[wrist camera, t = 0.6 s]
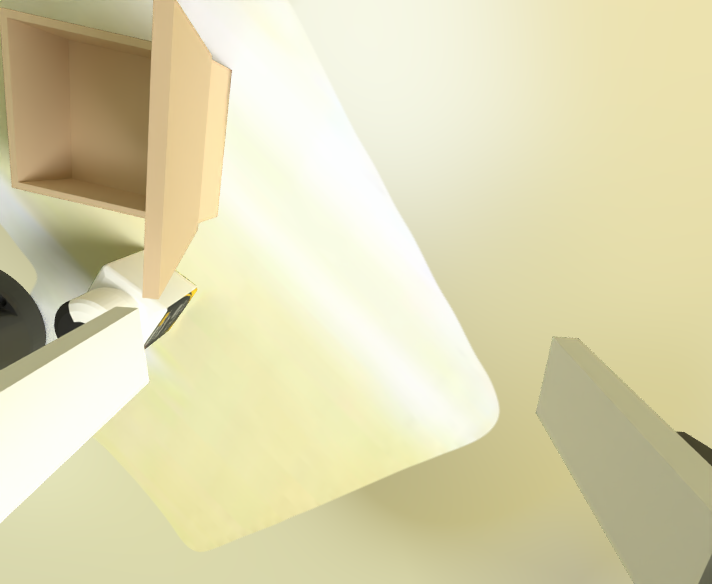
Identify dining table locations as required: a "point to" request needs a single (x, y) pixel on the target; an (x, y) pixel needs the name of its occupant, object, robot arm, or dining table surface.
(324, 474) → the dining table surface
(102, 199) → the box
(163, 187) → the lid
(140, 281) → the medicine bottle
